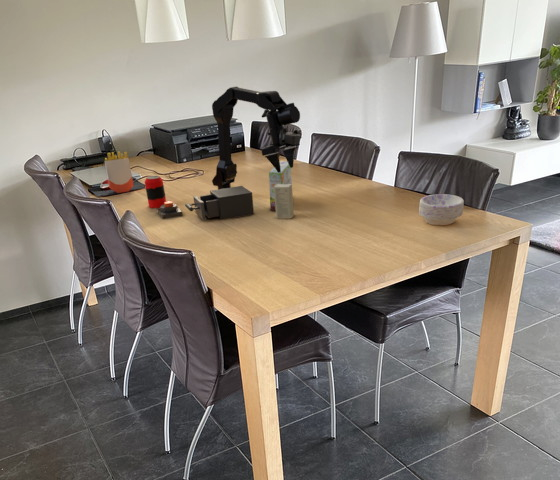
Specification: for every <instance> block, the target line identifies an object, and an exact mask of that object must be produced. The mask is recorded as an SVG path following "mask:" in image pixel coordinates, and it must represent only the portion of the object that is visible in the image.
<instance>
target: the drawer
mask: <svg viewBox="0 0 560 480" xmlns="http://www.w3.org/2000/svg"><path fill="white" fill-rule="evenodd" d="M192 196H193V203H189V202H186V203H185V204H184V206H185V207H186V209H187V210H188V211H189V212H193V211H194V212H195V214H196V215H197V216H198V218H200V219H201V220H202V221H206V220H207V219H206V217H207V218H208V219H210V218H211V219H212V218H217V217H218V216H220V208H219V199H217V198H216V197H215V196H214V195H212V194H205V195H203V194H202V195H200V196H197V195H192ZM193 206H194V207H193Z"/></svg>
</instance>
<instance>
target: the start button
mask: <svg viewBox="0 0 560 480" xmlns="http://www.w3.org/2000/svg"><path fill="white" fill-rule="evenodd" d="M173 204H174V202H173V201H172V200H166V202H164V207H172V206H173Z"/></svg>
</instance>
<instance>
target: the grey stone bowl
mask: <svg viewBox="0 0 560 480" xmlns="http://www.w3.org/2000/svg"><path fill="white" fill-rule="evenodd" d="M464 206H465V200H464V199H463V198H462V197H461V196H458V195H454V194H448V193H447V194H446V193H445V194H444V193H437V194H430V195H425V196H423V197H421V198H420V200H419V207H418V208H419V209H418V214H419V216H420V217H422V218H424V221H425V222H426V223H427V224H428V225H429V224H430V225H432V226H447V225H448V226H449V225H451V224H453V223H455V221H456V220H457V218H460V217H461V216H463V214H464Z"/></svg>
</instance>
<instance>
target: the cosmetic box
mask: <svg viewBox="0 0 560 480" xmlns="http://www.w3.org/2000/svg"><path fill="white" fill-rule="evenodd" d="M274 197H275V209H276V211H275V218H276V219H287V220H288V219H292V218H293V217H294V216H295V208H294V196H293V183H292V184H277V185H275V186H274Z"/></svg>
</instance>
